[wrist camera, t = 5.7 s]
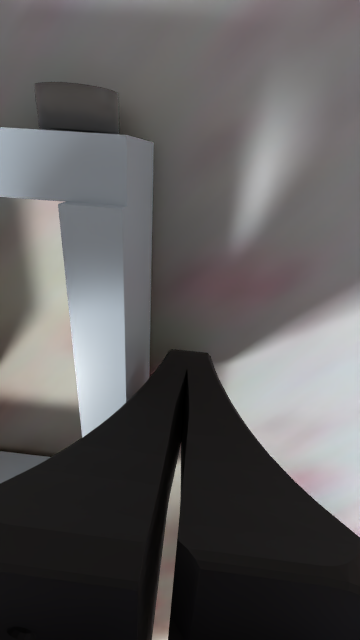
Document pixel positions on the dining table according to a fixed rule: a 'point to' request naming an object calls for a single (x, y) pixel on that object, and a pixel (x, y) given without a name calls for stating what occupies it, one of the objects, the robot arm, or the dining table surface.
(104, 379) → the grey square frame
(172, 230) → the dining table surface
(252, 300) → the dining table surface
